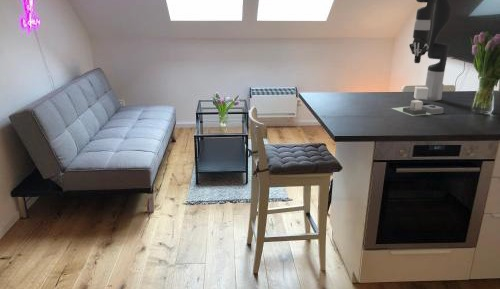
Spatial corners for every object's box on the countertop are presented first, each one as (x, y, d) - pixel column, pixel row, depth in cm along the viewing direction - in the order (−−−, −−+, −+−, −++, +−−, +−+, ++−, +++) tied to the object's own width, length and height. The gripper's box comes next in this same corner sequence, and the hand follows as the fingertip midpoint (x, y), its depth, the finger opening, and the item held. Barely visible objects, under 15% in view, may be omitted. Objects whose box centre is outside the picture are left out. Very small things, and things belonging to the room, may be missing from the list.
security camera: (426, 106, 230) (428, 88, 227) (413, 105, 231) (415, 88, 228) (423, 103, 236) (426, 86, 233) (411, 103, 237) (413, 86, 234)
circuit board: (419, 107, 227) (421, 100, 226) (443, 114, 212) (444, 107, 211) (390, 110, 221) (391, 102, 219) (412, 117, 206) (413, 110, 204)
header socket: (415, 110, 217) (416, 106, 216) (425, 113, 210) (426, 109, 210) (402, 111, 214) (403, 107, 213) (412, 114, 207) (413, 111, 207)
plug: (415, 111, 215) (417, 100, 213) (421, 112, 211) (422, 101, 209) (408, 111, 213) (409, 100, 211) (413, 113, 210) (415, 102, 208)
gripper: (437, 29, 205) (431, 64, 211) (418, 28, 217) (413, 61, 222) (425, 29, 203) (420, 65, 208) (407, 28, 214) (402, 61, 220)
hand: (416, 63), depth 215 cm, fingers closed
